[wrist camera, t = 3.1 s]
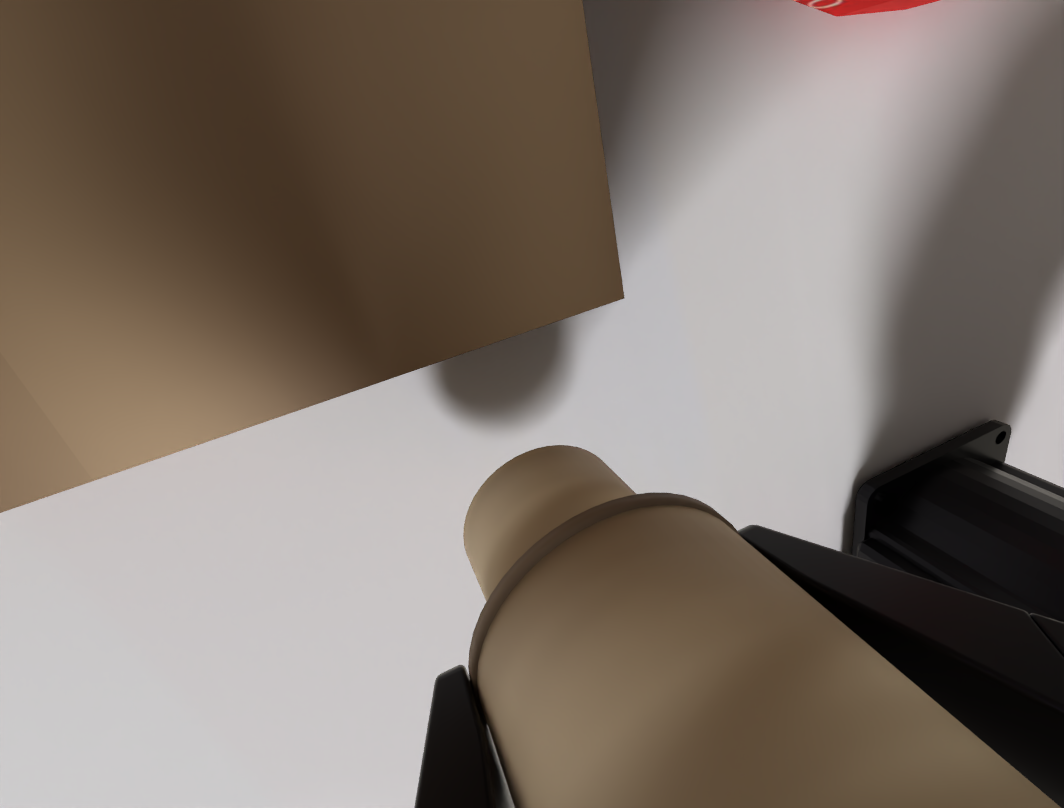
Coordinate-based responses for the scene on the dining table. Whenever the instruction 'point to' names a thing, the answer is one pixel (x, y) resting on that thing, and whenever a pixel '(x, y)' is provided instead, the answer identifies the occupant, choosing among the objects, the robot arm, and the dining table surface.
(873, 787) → the peg
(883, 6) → the kitchen timer
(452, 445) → the dining table surface
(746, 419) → the dining table surface
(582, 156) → the board
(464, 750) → the robot arm
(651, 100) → the dining table surface
